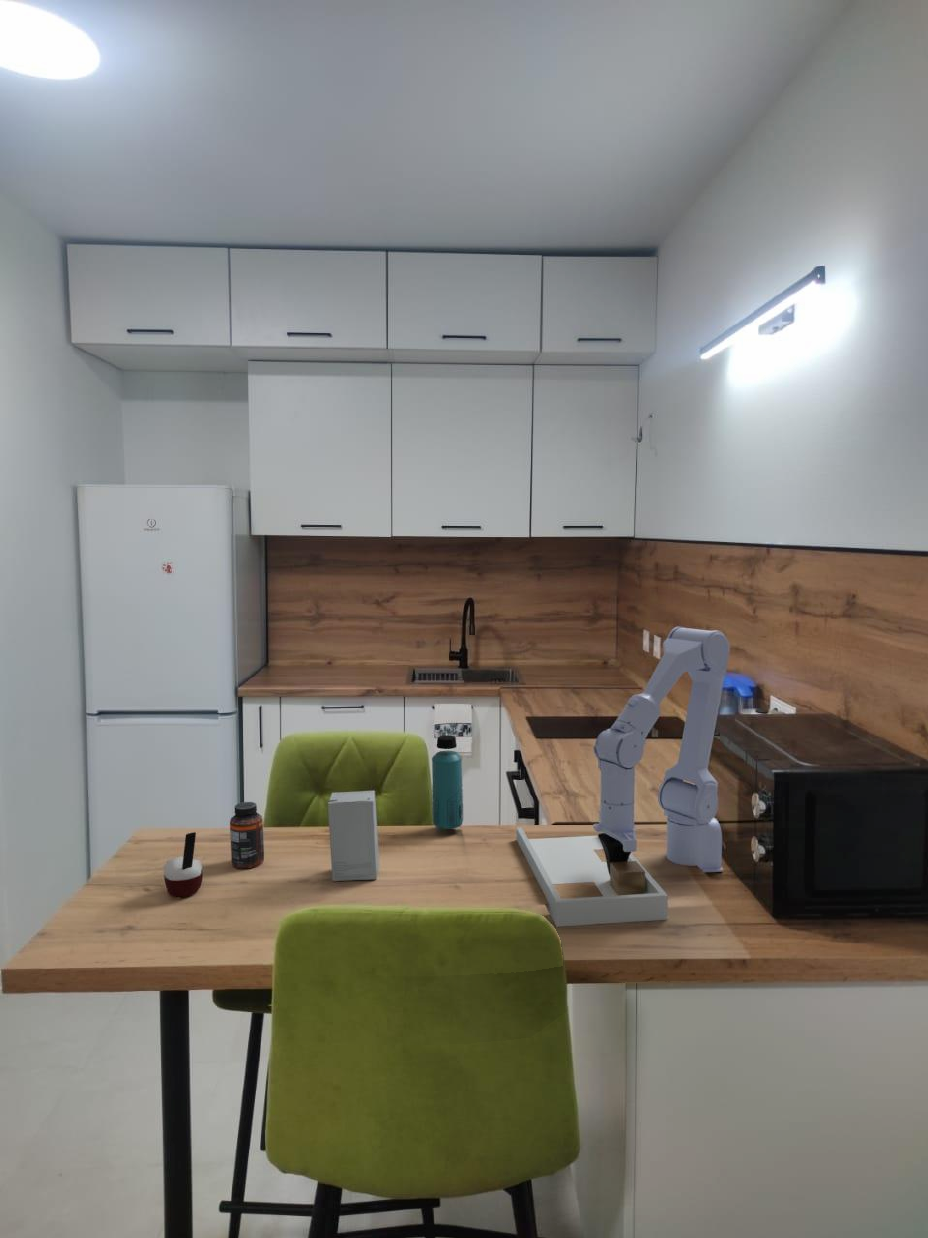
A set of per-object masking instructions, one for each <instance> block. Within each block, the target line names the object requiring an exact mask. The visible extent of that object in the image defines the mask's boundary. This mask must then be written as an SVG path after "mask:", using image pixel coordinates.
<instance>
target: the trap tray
mask: <svg viewBox="0 0 928 1238" xmlns="http://www.w3.org/2000/svg"><path fill="white" fill-rule="evenodd" d="M600 833H603V832H599V834H600ZM516 842H517V843H518V846H519V848H520V850H521V851H522V854H523V855H524V857H525V860H526V861H527V864H528V866H529V867H530V869H531V871H532V873H533V875H534V878H535V879H536V881H537V883H538V884H539V887H540V888H541V891H542V892H543V895H544V897H545V899H546V900H547V902H548V903H544V904H545V906H546V910H548V913H549V915H550V917H551V919H552V921H553V923H554V925H555V927H556V928H558V927H559V928H560V927H573V926H575V927H576V926H589V925H590V926H591V925H601V924H602V925H603V924H605V925H606V924H623V923H636V922H648V921H649V922H651V921H652V922H653V921H663V920H664V921H666V920H668V903H669V902H668V899H669V895H668V894H667V893H666V891H665V890H664V889H663V888H662V887H661V886H660V884H659V883H658V882H657V881H656V880H655V879H654V878H653V876H652V875H651V874H650V873H649V872H648V871H647V870H646V868H645V867H644V866H643V865H642V864H641V863H640V861H639V860H638V859H637V858H636V857H635V856H634V854H633V853H632V852H631V854H630V856H629V858H628V861H636V862H637V863H638V864H639V865H640V866H641V867H642V869H643V870H644V871H645V894H635V895H619V896H618V895H617V894H616V892H615V891H614V890H613V888H612V887H611V885H610V875H609V872H608V867H607V862H606V861H602V859H601V858H600V857H599V855H598V854H597V853H596V852H595V851H597V850H598V851H599V850H603V851H604V849H603V846H602V844H601V841H600V839H599V837H598V835H590V836H589V835H585V836H584V835H583V836H566V837H564V836H563V837H548V838H547V837H545V838H528V836H527V834H526V832H525V831H524V829H523V827H522V826H521V827H520V826H519V827H516ZM586 883H594V885H595V886H596V887H597V890H599V892H600V894H601V895H602V896H590V897H589V896H588V897H587V896H586V897H574V898H571V897H570V898H561V896H560V894H559V892H558V891H557V888H556V886H555V885H566V884H586Z"/></svg>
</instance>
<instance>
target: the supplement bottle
mask: <svg viewBox="0 0 928 1238" xmlns="http://www.w3.org/2000/svg"><path fill="white" fill-rule="evenodd" d="M257 811H258V807H257V803H256V802H253V801H243V802H238V803H237V804H235V805H234V815H233V816H232V817H231V818H230V821H229V829H230V830H229V831H230V832H229V833H230V853H231V856H230V857H231V865H232V866H233V867H234V868H236V869H252V868H256V867H258V866H260V865H261V864H263V863H264V860H265V849H264V848H265V847H264V844H265V843H264V826H263V825H264V823H263V816H262V815H261V814H260V813H259V812H257Z"/></svg>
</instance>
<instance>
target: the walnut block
mask: <svg viewBox="0 0 928 1238" xmlns="http://www.w3.org/2000/svg"><path fill="white" fill-rule="evenodd" d="M610 885H611V887H612V888H613V890H614V891H615V892H616V894H617V895H618V896H619V895H635V894H645V871H644V870H643V869H642V867H641V866H640V865H639V864H638V863H637V862H636V861H624V862H610Z"/></svg>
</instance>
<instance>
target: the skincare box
mask: <svg viewBox="0 0 928 1238" xmlns="http://www.w3.org/2000/svg"><path fill="white" fill-rule="evenodd" d="M327 813H328V829H329V831H328V833H329V846H330V847H329V848H330V862H331V877H332V882H342V881H344V882H345V881H367V880H370V881H371V880H372V881H373V880H377V878H378V873H379V868H380V859H379V858H380V857H379V839H378V826H377V825H378V824H377V822H378V821H377V804H376V791H375V790H363V791H348V792H347V791H346V792H345V791H344V792H332V793H331V795H330V797H329V800H328V802H327Z"/></svg>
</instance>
